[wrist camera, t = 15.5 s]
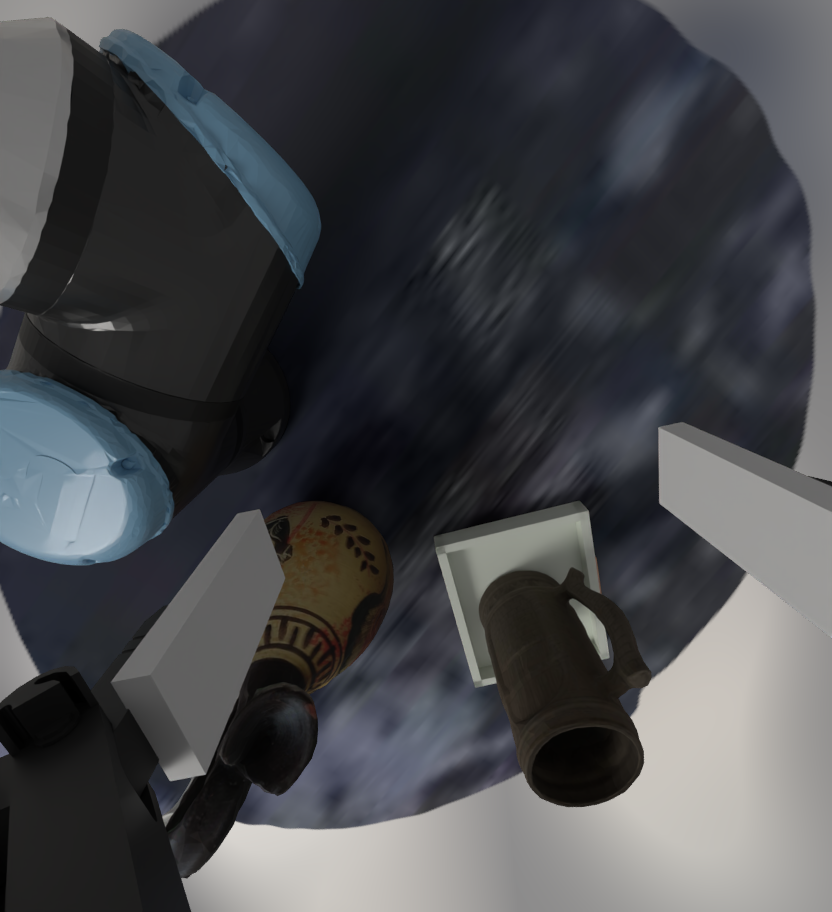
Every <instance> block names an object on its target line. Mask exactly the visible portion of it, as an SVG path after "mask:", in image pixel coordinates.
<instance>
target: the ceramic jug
mask: <svg viewBox="0 0 832 912" xmlns="http://www.w3.org/2000/svg"><path fill="white" fill-rule="evenodd" d="M264 522H265V525H266V527H267V530H268V533H269V535H270V538H271V541H272V543H273V546H274V549H275V551H276V554H277V557H278V560H279V562H280V565H281V568H282V570H283V573H284V576H285V580H284V583H283V585H282V588H281V590H280V593H279V595H278V598H277V600H276V603H275V605H274V608H273V610H272V612H271V615H270V617H269V620H268V622H267V625H266V627H265V630H264V632H263V635H262V637H261V640H260V642H259V645H258V647H257V649H256V652H255V654H254V657H253V659H252V662H251V664H250V667H249V669H248V672H247V674H246V677H245V679H244V682H243V684H242V687H241V689H240V693H239V697H238V699H237V700H236V702H235V705H234V707H233V710H232V712H231V714H230V716H229V719H228V721H227V724H226V726H225V729H224V731H223V733H222V736H221V738H220V741H219V743H218V746H217V748H216V751H215V753H214V756H213V758H212V761H211V763H210V766H209V768H208V770H207V773H206V775H201V776H195V777H194V779H193V781H192V783H191V785H190V786H189V788H188V790H187V791H186V792H185V793H184V794H183V797H182V799H181V801H180V804H179V806H178V808H177V809H176V810H175V812H174V813H173V815H172V816H171V818H170V819H169V821H168V823H167V825H166V831H167V834H168V837H169V841H170V844H171V847H172V851H173V854H174V857H175V860H176V864H177V867H178V870H179V874H180V877H181V878H188V877H189V876H190V875H191V874H193V873H196V872H197V871H198V870H199V869H200V868H201V867H202V866H203V865H204V864H205V863H206V862H207V861H208V860H209V859H210V858H211V857H212V856H213V854H214V853H215V852H216V851H217V849H218V848H219V846H220V845H221V843H222V842H223V840H224V839H225V837H226V835H227V834H228V833H229V831H230V830H231V828H232V826H233V825H234V822H235V820H236V817H237V814H238V811H239V810H240V808H241V806H242V805H243V803H244V801H245V799H246V796H247V794H248V791H249V789H250V786H251V784H252V783H253V784H255V785H257V786H259V787H261V789H262V790H263V791H264V792H267V793H271V794H275V795H277V796H278V795H281V794H283V793H285V792H286V791H287V790H288V789H289V788H290V787H291V786H292V785H293V784H294V783H295V781H296V780H297V779H298V777H299V776H300V775H301V773H302V772H303V770H304V769H305V767H306V766H307V765H308V763H309V762H310V760H311V759H312V756H313V753H314V750H315V747H316V744H317V735H318V719H317V715H316V710H315V705H314V701H313V700H312V698H311V696H310V695H309V694H311V693H313V692H314V691H316V690H317V689H319V688H321V687H323V686H325V685H326V684H328V683H329V681H330V680H331V679H333V678H334V677H336V676H337V675H338V674H340V673H342V672H343V671H344V670H345V669H346V668H347V667H348V666H350V665H351V664H352V663H353V662H354V661H355V660H356V659H357V658H358V657H359V656H360V655H361V654H362V653H363V652H364V651H365V649H366V648H367V647H368V646H369V644H370V643H371V641H372V640H373V638H374V637H375V635H376V633H377V631H378V629H379V627H380V625H381V624H382V622H383V619H384V617H385V615H386V613H387V610H388V607H389V604H390V600H391V596H392V592H393V583H394V578H393V564H392V560H391V556H390V553H389V549H388V546H387V544H386V542H385V540H384V538H383V537H382V535H381V534H380V532H379V531H378V530H377V529H376V527H375V526H374V525H373V524H372V523H371V522H370V521H369V520H368V519H367V518H365V517H364V516H363V515H362V514H360V513H359V512H357V511H356V510H354V509H351V508H349V507H346V506H343V505H339V504H336V503H332V502H326V501H304V502H298V503H295V504H292V505H289V506H287V507H284V508H282V509H280V510H278V511H276V512H274V513H272V514H271V515H269V516H268V517H267V518H266V519H264Z"/></svg>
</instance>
